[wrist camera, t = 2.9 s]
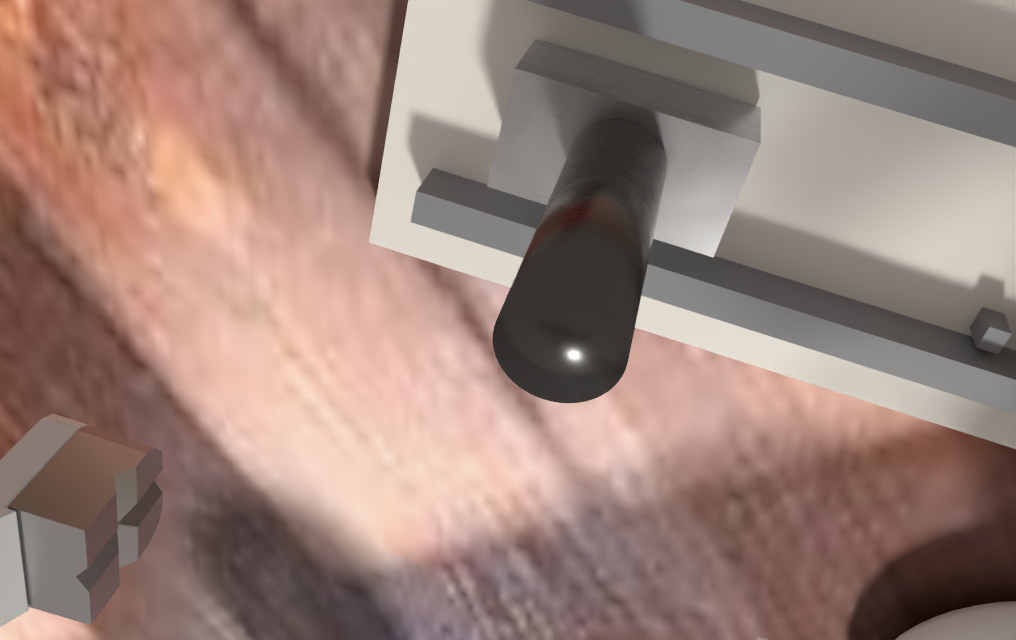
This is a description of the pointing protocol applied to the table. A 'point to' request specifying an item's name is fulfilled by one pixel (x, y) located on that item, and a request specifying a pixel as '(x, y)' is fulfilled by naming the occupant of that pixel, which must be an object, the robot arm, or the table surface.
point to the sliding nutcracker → (766, 182)
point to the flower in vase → (969, 624)
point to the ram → (605, 206)
